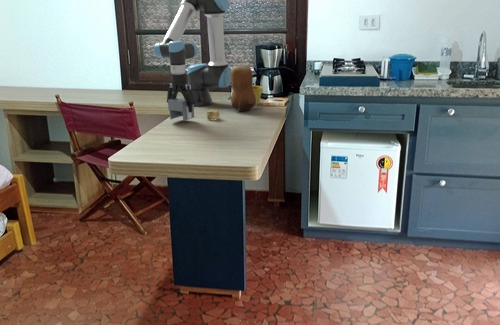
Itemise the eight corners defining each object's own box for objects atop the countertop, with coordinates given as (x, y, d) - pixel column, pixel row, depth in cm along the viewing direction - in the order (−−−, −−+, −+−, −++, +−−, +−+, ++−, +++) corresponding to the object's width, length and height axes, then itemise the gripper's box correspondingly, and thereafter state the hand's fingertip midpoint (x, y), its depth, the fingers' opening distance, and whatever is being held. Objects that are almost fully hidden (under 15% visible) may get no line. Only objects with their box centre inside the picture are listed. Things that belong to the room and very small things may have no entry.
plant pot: (260, 105, 280) (260, 89, 276) (243, 105, 282) (242, 88, 278) (263, 102, 289) (263, 85, 286) (246, 101, 291) (246, 85, 288)
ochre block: (207, 119, 252) (206, 111, 250) (212, 118, 255) (212, 109, 254) (214, 120, 250) (214, 112, 248) (219, 118, 253) (219, 110, 252)
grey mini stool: (169, 119, 246) (167, 100, 243) (180, 115, 253) (179, 96, 250) (183, 121, 242) (181, 101, 238) (194, 117, 249) (193, 98, 246)
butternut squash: (243, 106, 278) (242, 62, 270) (260, 110, 269) (259, 64, 261) (225, 111, 269) (223, 65, 261) (242, 114, 260) (241, 67, 252)
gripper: (156, 73, 242) (160, 117, 250) (191, 75, 232) (194, 121, 239) (166, 70, 249) (170, 113, 256) (200, 73, 238) (203, 118, 245)
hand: (181, 117), depth 247 cm, fingers closed on grey mini stool, 9 cm apart
